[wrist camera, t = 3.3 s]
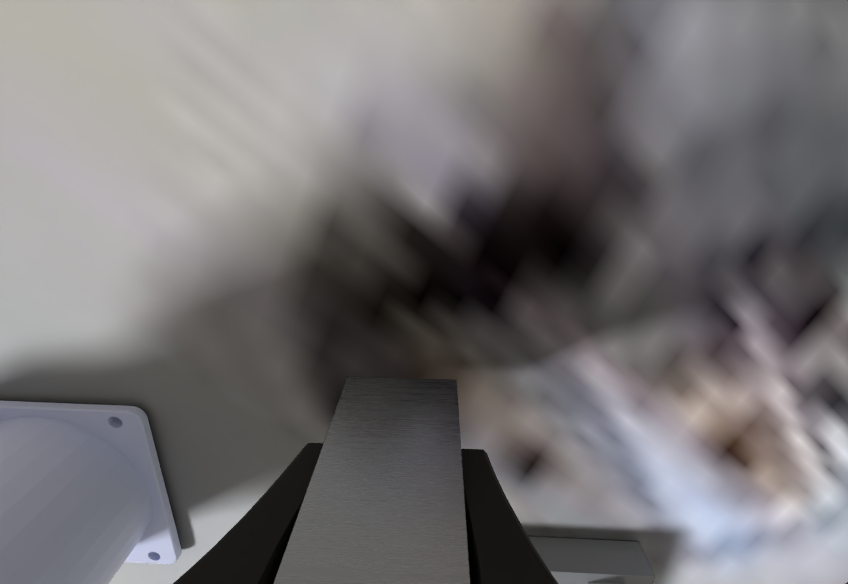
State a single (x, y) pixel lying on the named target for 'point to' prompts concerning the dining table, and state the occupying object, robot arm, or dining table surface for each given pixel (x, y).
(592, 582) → the box
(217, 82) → the dining table surface
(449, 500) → the brushed metal block
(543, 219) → the dining table surface
